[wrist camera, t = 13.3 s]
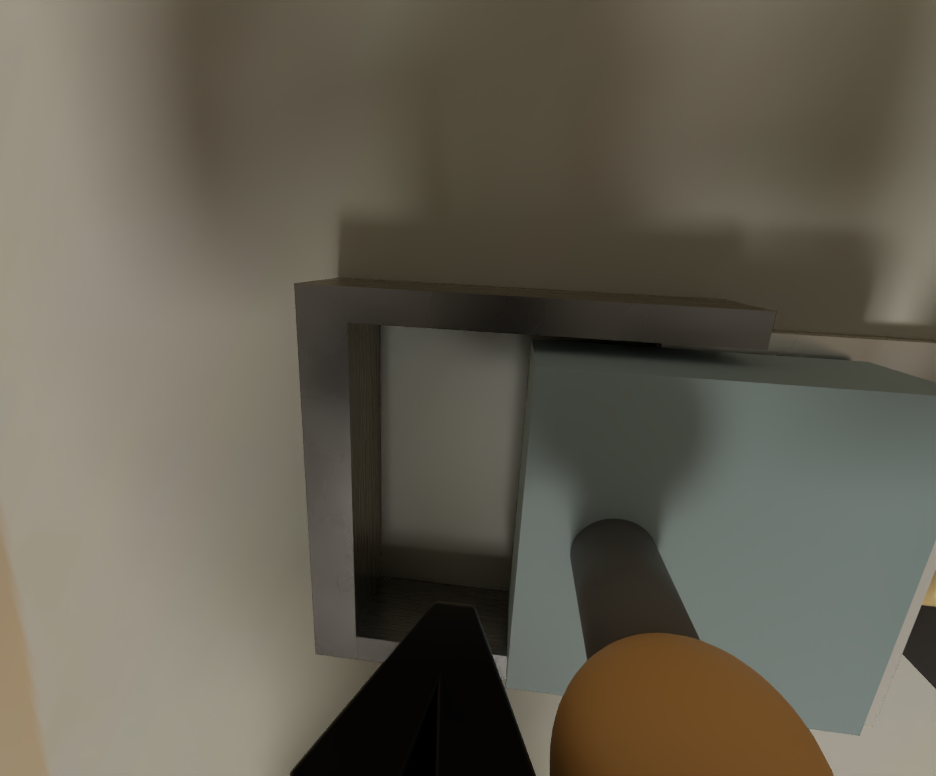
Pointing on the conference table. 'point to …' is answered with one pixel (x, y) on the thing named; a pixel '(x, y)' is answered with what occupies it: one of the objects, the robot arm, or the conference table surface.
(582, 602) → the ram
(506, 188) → the conference table surface
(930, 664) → the block
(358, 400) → the press frame
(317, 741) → the robot arm
